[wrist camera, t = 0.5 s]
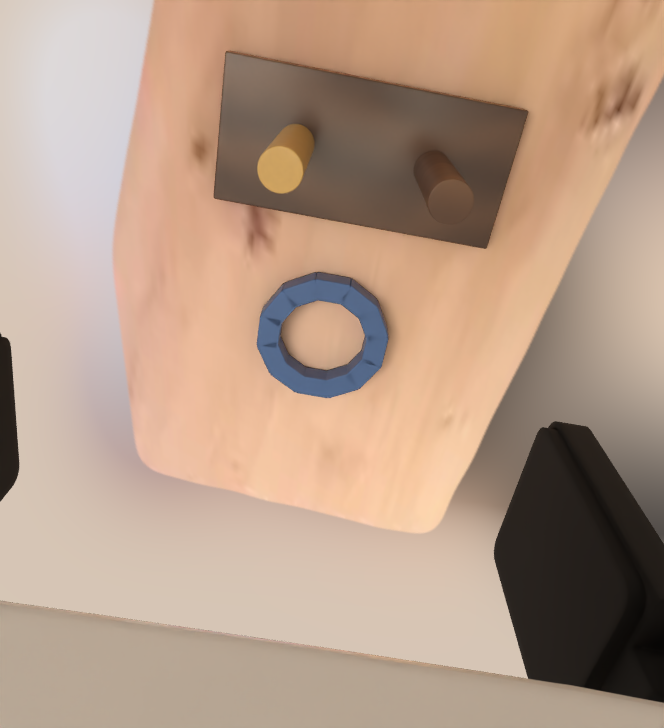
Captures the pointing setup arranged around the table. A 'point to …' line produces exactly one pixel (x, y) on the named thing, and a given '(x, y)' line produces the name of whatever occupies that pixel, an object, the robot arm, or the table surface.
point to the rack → (363, 150)
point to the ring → (328, 291)
